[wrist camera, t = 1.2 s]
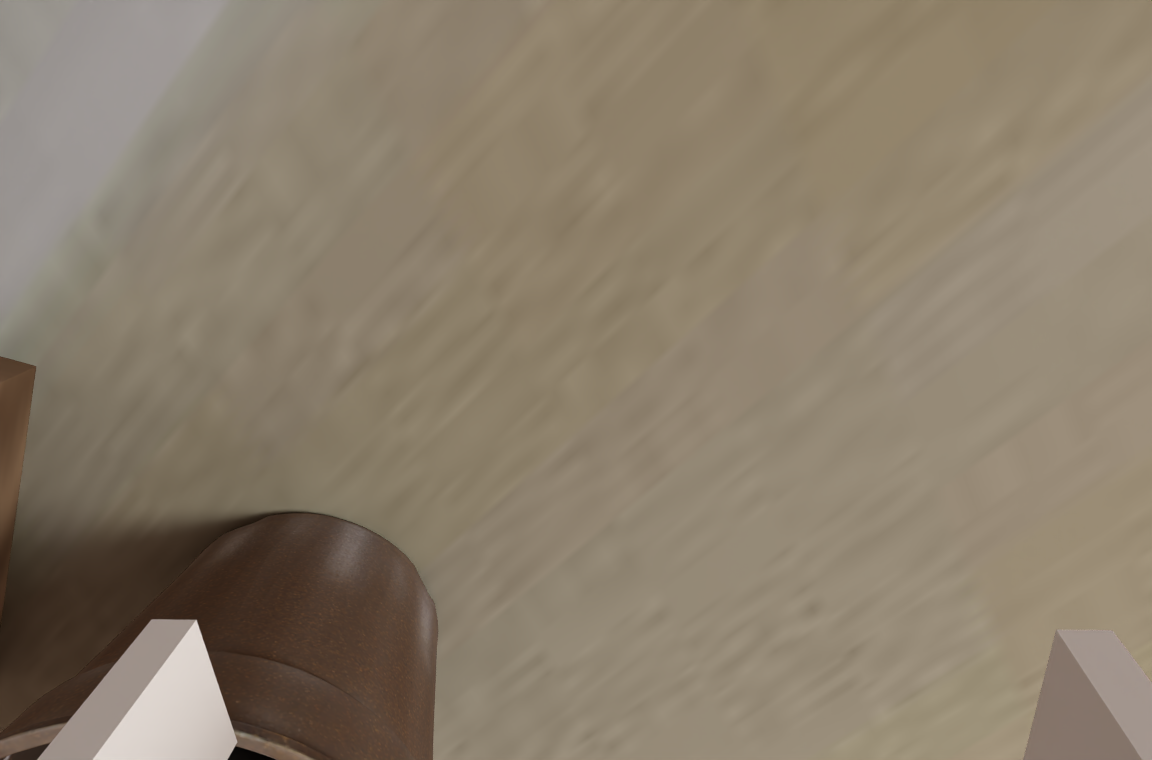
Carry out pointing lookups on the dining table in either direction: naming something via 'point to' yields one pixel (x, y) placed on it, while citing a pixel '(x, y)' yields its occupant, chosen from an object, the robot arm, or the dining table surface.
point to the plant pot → (291, 645)
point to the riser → (12, 451)
